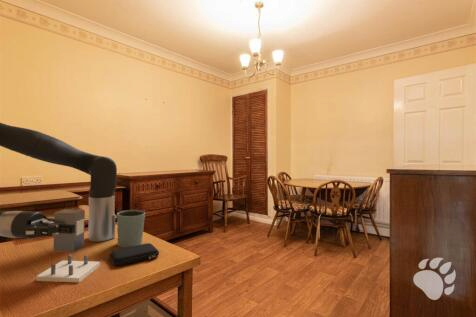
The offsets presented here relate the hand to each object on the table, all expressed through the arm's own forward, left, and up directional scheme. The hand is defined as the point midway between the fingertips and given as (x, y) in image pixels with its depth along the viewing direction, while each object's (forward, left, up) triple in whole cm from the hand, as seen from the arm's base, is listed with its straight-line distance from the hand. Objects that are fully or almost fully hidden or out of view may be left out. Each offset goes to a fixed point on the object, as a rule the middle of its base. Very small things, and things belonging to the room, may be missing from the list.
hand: (78, 227), depth 72 cm
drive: (+2, -2, -6) cm, 7 cm away
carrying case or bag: (-16, -3, -14) cm, 22 cm away
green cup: (-17, -17, -14) cm, 28 cm away
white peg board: (+2, -2, -14) cm, 14 cm away
